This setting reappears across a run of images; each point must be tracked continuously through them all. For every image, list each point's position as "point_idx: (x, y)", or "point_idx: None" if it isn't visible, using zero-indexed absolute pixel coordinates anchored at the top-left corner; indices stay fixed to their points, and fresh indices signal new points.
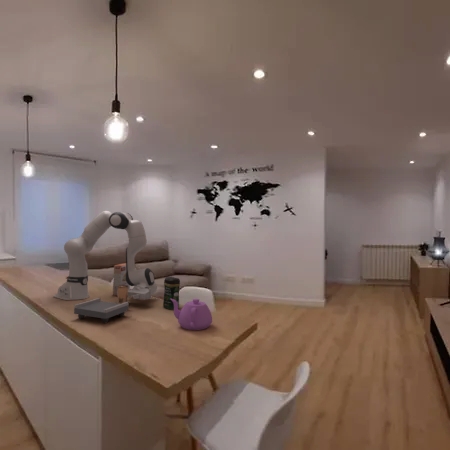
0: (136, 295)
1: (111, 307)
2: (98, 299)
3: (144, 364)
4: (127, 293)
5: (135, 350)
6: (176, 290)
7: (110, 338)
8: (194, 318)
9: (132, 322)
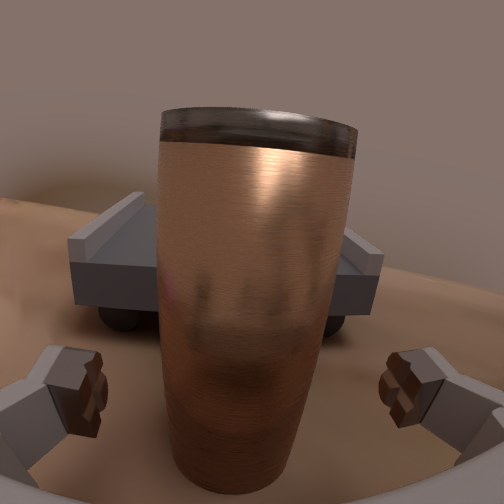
0: (6, 396)
1: (129, 199)
2: (358, 251)
3: (6, 203)
4: (158, 265)
5: (17, 212)
6: None
7: (75, 222)
8: None
9: (34, 282)
